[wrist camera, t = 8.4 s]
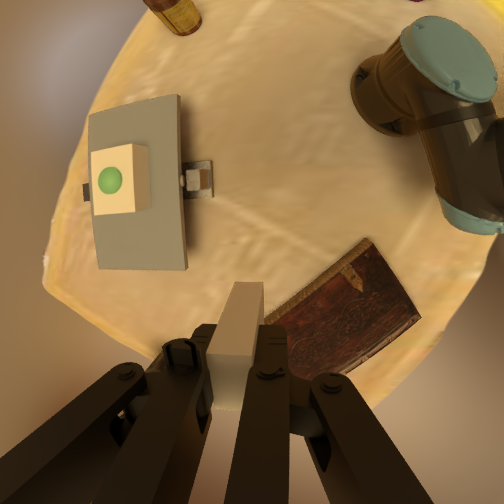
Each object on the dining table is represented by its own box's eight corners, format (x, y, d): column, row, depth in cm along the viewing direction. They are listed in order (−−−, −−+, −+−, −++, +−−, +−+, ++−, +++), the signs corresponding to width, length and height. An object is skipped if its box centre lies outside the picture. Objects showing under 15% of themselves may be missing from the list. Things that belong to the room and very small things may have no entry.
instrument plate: (95, 117, 38) (66, 110, 30) (183, 97, 36) (162, 81, 29) (105, 265, 44) (78, 280, 37) (191, 266, 43) (172, 284, 35)
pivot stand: (102, 174, 47) (80, 175, 40) (212, 161, 45) (201, 158, 38) (110, 253, 51) (90, 263, 44) (217, 252, 49) (207, 264, 42)
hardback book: (300, 387, 55) (302, 403, 51) (241, 333, 53) (238, 348, 48) (412, 308, 48) (423, 319, 44) (364, 237, 46) (373, 243, 41)
